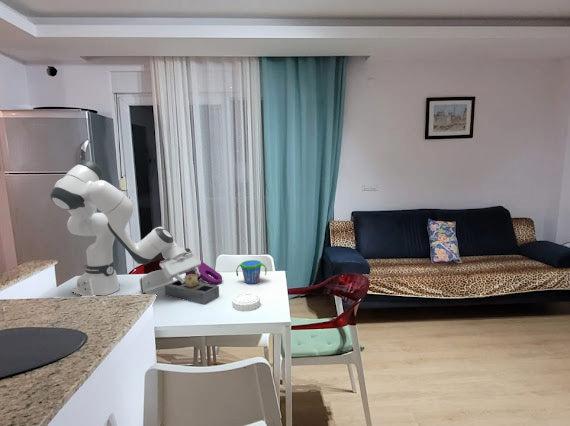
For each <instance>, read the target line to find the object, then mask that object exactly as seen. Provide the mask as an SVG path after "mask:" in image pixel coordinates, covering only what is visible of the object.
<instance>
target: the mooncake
mask: <svg viewBox="0 0 570 426" xmlns="http://www.w3.org/2000/svg"><path fill="white" fill-rule="evenodd" d="M231 300H232V301H231V305H232V309H233V310H235V311H239V312H250V311H254V310H257V309H258V308H259V307H260V305H261V299H260V296H258V294H257V295H256V294H254V293H245V294H244V293H243V294H238V295H236V296H235V297H233V298H232V299H231Z"/></svg>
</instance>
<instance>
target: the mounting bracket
mask: <svg viewBox="0 0 570 426" xmlns="http://www.w3.org/2000/svg"><path fill="white" fill-rule="evenodd" d="M200 261H201V265H200V266H199V267H198V270H199V273H200V276H199V277H197V278H198V282H200V280H202V281H204V282H205V283H206V284H210V285H215V286H219V285H220V284H221V283H222V280H223V276H222V274H220V273H219V272H218V271H216V270H215V269H213V268H212V267H211V266H209V264H208V265H207V263H205V262H204V261H203V260H201V259H200ZM189 274H196V273H195V271H193V270H191V271H189V272H186V273H185V276H186V275H189Z"/></svg>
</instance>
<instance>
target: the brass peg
mask: <svg viewBox="0 0 570 426" xmlns="http://www.w3.org/2000/svg"><path fill="white" fill-rule="evenodd" d="M184 278H185V280H186V282H185V287H186V288H191V289H192V288H195V287H197V286H198V282H199V281H198V278H197V275H195V274H189V275H186V274H185V276H184Z"/></svg>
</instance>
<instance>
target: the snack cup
mask: <svg viewBox="0 0 570 426" xmlns="http://www.w3.org/2000/svg"><path fill="white" fill-rule="evenodd" d="M262 266H263V267H264V268H265V270H264V272H265V274H264V276H267V267H266V264H265V263H263V262H262V261H261V260H257V259H256V260H255V259H251V260H245V261H242V262H241V263H240V264H238V265H237V267H236V270H235V272H236V276H237V277H239V273H238V272H239V271H238V269H239V268H241V270H242V275H243V280H244V281H243V282H244V283H246V284H249V285H252V284H257V283H259V282H260V278H261V277H260V275H261V267H262Z"/></svg>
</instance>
